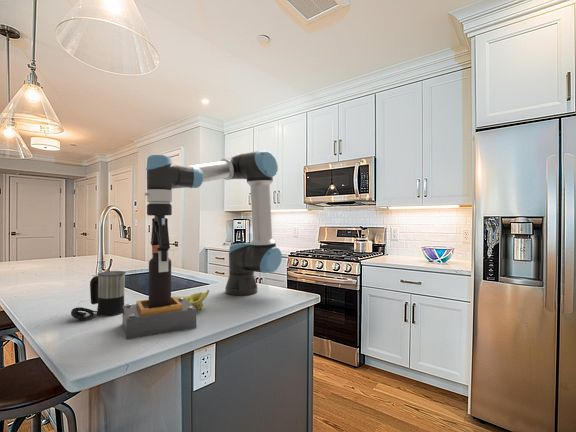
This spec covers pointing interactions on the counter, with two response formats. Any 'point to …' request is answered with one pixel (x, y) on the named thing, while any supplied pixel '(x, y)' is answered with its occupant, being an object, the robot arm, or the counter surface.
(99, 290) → the milk frother
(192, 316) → the gray fixture block
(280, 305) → the counter surface
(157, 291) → the vinegar
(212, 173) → the robot arm
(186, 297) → the yellow-green irregular piece
